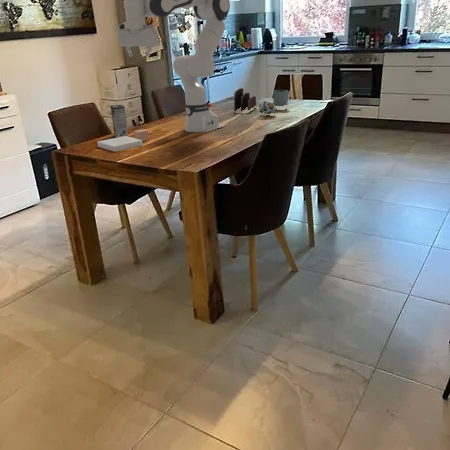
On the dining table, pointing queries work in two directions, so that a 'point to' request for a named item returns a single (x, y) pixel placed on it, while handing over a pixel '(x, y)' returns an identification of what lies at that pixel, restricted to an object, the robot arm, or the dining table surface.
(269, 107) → the passion flower
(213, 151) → the dining table surface
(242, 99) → the letter holder
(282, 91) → the grey tapered pot
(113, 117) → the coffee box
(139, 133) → the terracotta block
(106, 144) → the base plate
